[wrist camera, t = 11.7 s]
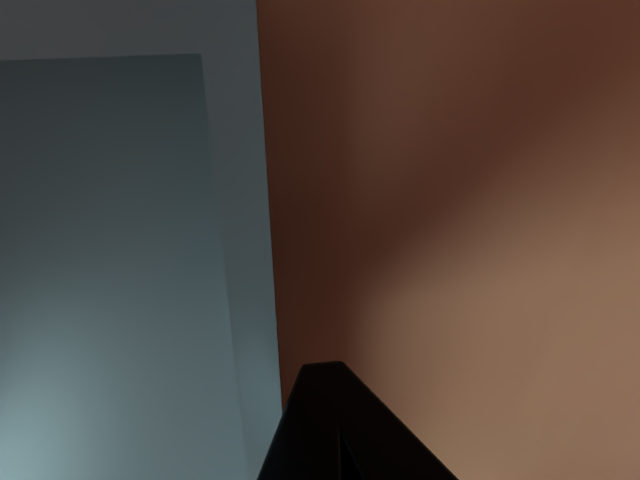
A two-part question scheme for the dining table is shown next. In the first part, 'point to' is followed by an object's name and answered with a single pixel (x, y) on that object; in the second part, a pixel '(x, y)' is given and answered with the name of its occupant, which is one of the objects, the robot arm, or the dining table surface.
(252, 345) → the tray
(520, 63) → the dining table surface
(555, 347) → the dining table surface
